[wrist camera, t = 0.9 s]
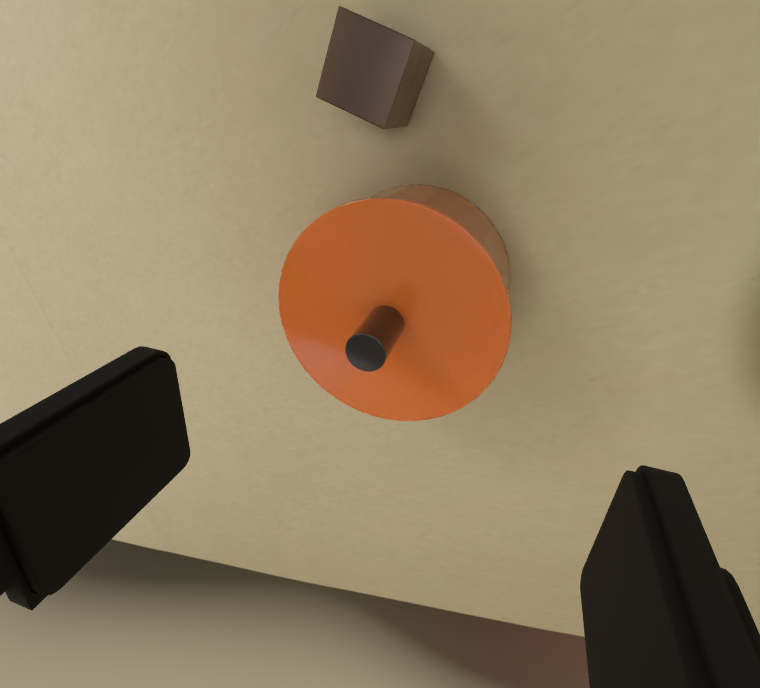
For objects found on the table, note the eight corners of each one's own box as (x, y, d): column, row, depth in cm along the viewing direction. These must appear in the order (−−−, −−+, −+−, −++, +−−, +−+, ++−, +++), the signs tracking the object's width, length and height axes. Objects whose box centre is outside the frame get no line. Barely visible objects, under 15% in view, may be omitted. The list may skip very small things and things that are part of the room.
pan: (315, 310, 43) (268, 353, 35) (368, 151, 35) (322, 162, 27) (458, 382, 42) (441, 443, 34) (547, 236, 34) (551, 273, 26)
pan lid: (265, 351, 36) (224, 388, 31) (321, 150, 28) (276, 159, 23) (445, 445, 35) (431, 499, 30) (563, 266, 26) (570, 301, 22)
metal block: (348, 99, 34) (315, 96, 28) (370, 22, 31) (338, 5, 26) (407, 126, 33) (384, 129, 28) (434, 51, 31) (415, 40, 25)
